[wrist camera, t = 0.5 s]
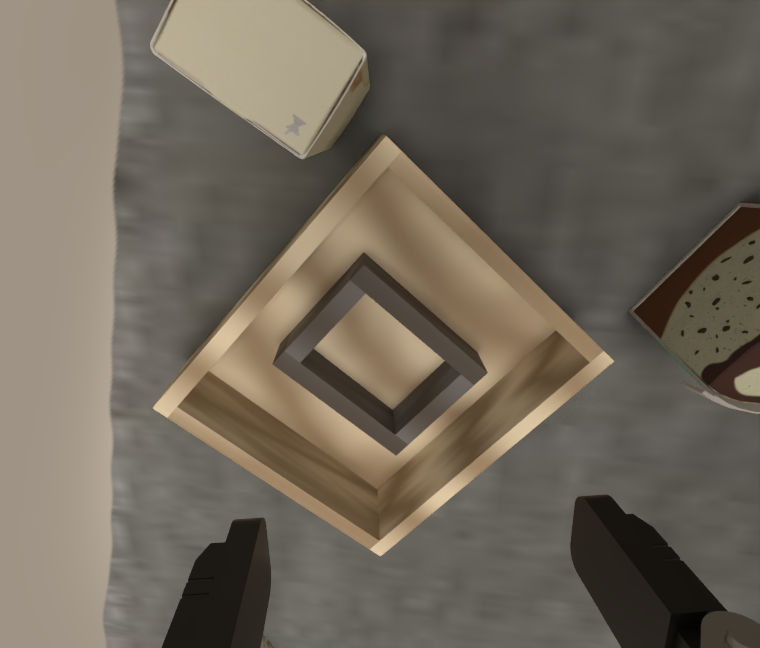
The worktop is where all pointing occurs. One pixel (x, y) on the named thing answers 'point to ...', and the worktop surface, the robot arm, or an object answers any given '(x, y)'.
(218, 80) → the skincare box
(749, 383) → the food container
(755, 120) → the worktop surface
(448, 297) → the walled box
